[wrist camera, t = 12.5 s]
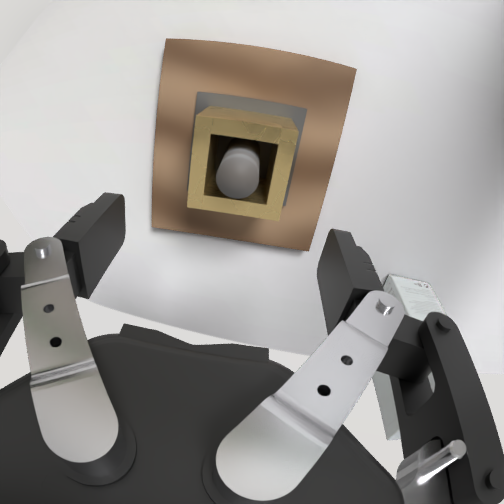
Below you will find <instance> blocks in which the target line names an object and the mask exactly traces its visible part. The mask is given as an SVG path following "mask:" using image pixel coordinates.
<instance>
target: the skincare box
mask: <svg viewBox="0 0 504 504" xmlns="http://www.w3.org/2000/svg"><path fill="white" fill-rule="evenodd" d="M383 289H384V291H385V292H387V293H389V294H391V295H393V296H394V297H396V298H397V299H398V300H399V301H400V302H401V304H402V305H403V307H404V310H405V315H408V316H410V317H413V318H416V319H418V320H421V321H424V319H425V318H426V316H427V315H428V313H430V312H440V313H442V314H445V315H446V313H445V311H444V309H443V307H442V305H441V304H440V302H439V300H438V298H437V296H436V294H435V293H434V291H433V289H432V287H431V286H430V284H429V283H426V282H422V281H417V280H413V279H409V278H405V277H401V276H397V275H393V274H390V275H389V276H388V278H387V280H386V283H385V285H384V286H383ZM446 316H447V315H446ZM428 378H429V382H430V385H431V389H432V392H434V389H435V382H434V378H433V375H432V372H431V373H430V374H429V376H428ZM372 379H373V382H374V386H375V390H376V395H377V398H378V402H379V406H380V411H381V415H382V419H383V424H384V429H385V433H386V439H387V440H398V439H401V436H400V430H399V424H398V418H397V412H396V407H395V402H394V397H393V391H392V387H391V382H390V377H389V375H387V374H384V373H381V372H378V371H376V372H375V373H374V375H373V377H372Z"/></svg>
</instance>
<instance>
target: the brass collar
mask: <svg viewBox="0 0 504 504" xmlns="http://www.w3.org/2000/svg"><path fill="white" fill-rule="evenodd" d="M298 133H299V131H298V129H297V127H296V126H295V124H294V122H293V120H292V119H291V118H286V117H281V116H275V115H270V114H264V113H258V112H252V111H245V110H239V109H231V108H224V107H216V106H208V107H207V108H206V109H204V110H203V111H202V112H200V113H199V114H197V115H196V120H195V128H194V137H193V146H192V156H191V166H190V177H189V188H188V200H187V207H189V208H196V209H203V210H209V211H216V212H223V213H229V214H236V215H242V216H249V217H255V218H261V219H267V220H273V221H279V219H280V214H281V210H282V206H283V201H284V197H285V192H286V188H287V183H288V179H289V174H290V170H291V165H292V161H293V156H294V152H295V147H296V143H297V138H298ZM219 135H224V136H231V137H238V138H244V139H251V140H257V141H263V142H269V143H273V144H272V149H271V154H270V159H269V165H268V170H267V175H266V178H261V177H259V183H258V186H257V188H256V190H255V191H254V192H253V193H252V194H251V195H249V196H248V197H245V198H240V199H236V198H231V197H228V196H226V195H225V194H223V193H222V192H221V191H220V189H219V188H218V186H217V182H216V174H217V171H215V162H216V154H217V147H218V139H219Z"/></svg>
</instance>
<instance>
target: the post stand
mask: <svg viewBox="0 0 504 504" xmlns="http://www.w3.org/2000/svg"><path fill="white" fill-rule="evenodd" d="M356 70H357V69H355V68H352V67H348V66H345V65H341V64H338V63H334V62H330V61H326V60H322V59H318V58H314V57H310V56H305V55H301V54H296V53H291V52H286V51H281V50H275V49H269V48H263V47H257V46H250V45H243V44H235V43H226V42H216V41H205V40H190V39H166V42H165V49H164V56H163V64H162V71H161V80H160V88H159V98H158V108H157V119H156V131H155V146H154V163H153V186H152V227H155V228H162V229H169V230H175V231H182V232H188V233H195V234H201V235H208V236H214V237H221V238H227V239H234V240H240V241H247V242H253V243H259V244H266V245H272V246H278V247H285V248H291V249H297V250H303V251H309V249H310V246H311V242H312V239H313V236H314V232H315V229H316V225H317V222H318V218H319V215H320V212H321V208H322V205H323V201H324V197H325V194H326V190H327V187H328V183H329V179H330V176H331V172H332V168H333V164H334V161H335V157H336V153H337V149H338V145H339V141H340V137H341V134H342V129H343V125H344V121H345V117H346V113H347V109H348V105H349V101H350V96H351V92H352V88H353V83H354V79H355V74H356ZM208 106H216V107H224V108H231V109H239V110H245V111H252V112H258V113H264V114H270V115H275V116H281V117H286V118H291V119H292V120H293V122H294V124H295V126H296V127H297V129H298V131H299V133H298V138H297V143H296V147H295V152H294V156H293V161H292V165H291V170H290V174H289V179H288V183H287V188H286V192H285V197H284V201H283V206H282V210H281V214H280V219H279V221H273V220H267V219H261V218H255V217H249V216H242V215H236V214H229V213H223V212H216V211H209V210H203V209H196V208H189V207H187V200H188V188H189V177H190V166H191V156H192V146H193V137H194V128H195V120H196V115H197V114H199V113H200V112H202V111H203V110H204V109H206V108H207V107H208ZM272 144H273V143H269V142H263V141H257V140H251V139H244V138H238V137H231V136H224V135H219V139H218V147H217V154H216V162H215V171H217V174H216V182H217V186H218V188H219V189H220V191H221V192H222V193H223V194H225V195H226V196H228V197H231V198H236V199H240V198H245V197H248V196H249V195H251V194H252V193H253V192H254V191H255V190H256V188H257V186H258V183H259V177H261V178H266V175H267V170H268V165H269V159H270V154H271V149H272Z"/></svg>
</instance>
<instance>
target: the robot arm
mask: <svg viewBox="0 0 504 504" xmlns="http://www.w3.org/2000/svg"><path fill="white" fill-rule="evenodd" d="M125 232H126V228H125V200H124V196H123V195H122V194H114V193H106V192H105V193H103V194H102V195H101V196H100V197H99V198H98V199H97V200H96V201H95V202H94V203H90V204H88V205H86V206H84V207H82V208H81V209H80V210H79V211H78V212H77V213H76V214H75V215H74V216H73V217H72V218H71V219H70V220H69V222H67V223H66V224H65V225H64V226H63V227H62V228H61V229H60V230H59V231H58V232H57V233H56V234H55V235H54V236H53V237H43V238H39V239H36V240H34V241H32V242H31V243H30V244H29V245H27V247H26V248H25V250H24V252H15V253H8V250H7V246H6V243H5V242H4V241H3V240H0V356H1V354H2V352H3V350H4V348H5V346H6V345H7V343H8V341H9V339H10V337H11V335H12V334H13V332H14V330H15V328H16V327H17V325H18V323H19V322H20V320H21V318H22V316H23V321H24V331H25V339H26V346H27V353H28V359H29V365H30V371H31V372H30V373H28V374H26V375H25V376H23V377H21V378H19V379H17V380H16V381H14V382H12V383H10V384H9V385H7V386H5V387H4V388H2V389H0V504H498V503H500V502H501V501H502V500H503V499H504V454H503V450H502V447H501V443H500V440H499V436H498V432H497V429H496V425H495V422H494V419H493V416H492V413H491V410H490V407H489V404H488V401H487V398H486V395H485V392H484V390H483V387H482V384H481V382H480V379H479V377H478V374H477V371H476V369H475V366H474V364H473V361H472V359H471V356H470V354H469V352H468V349H467V347H466V345H465V342H464V340H463V338H462V336H461V333H460V331H459V329H458V327H457V325H456V324H455V323H454V321H453V320H452V319H451V318H449V317H448V316H446V315H445V314H442V313H440V312H430V313H428V315H427V316H426V318H425V319H424V321H421V320H418V319H416V318H413V317H410V316H408V315H405V310H404V307H403V305H402V304H401V302H400V301H399V300H398V299H397V298H396V297H394V296H393V295H391V294H389V293H387V292H385V291H384V289H383V287H382V284H381V282H380V280H379V277H378V275H377V273H376V272H375V271H376V270H375V268H374V266H373V265H372V261H371V259H370V257H369V255H368V254H367V253H366V252H365V251H364V250H363V249H362V248H361V247H359V246H356V244H355V241H354V239H353V237H352V235H351V233H350V232H347V231H342V230H336V229H331V230H330V231H329V233H328V236H327V239H326V242H325V245H324V248H323V251H322V254H321V257H320V260H319V263H318V268H317V280H318V285H319V290H320V295H321V300H322V305H323V310H324V316H325V321H326V327H327V332H328V337H327V338H326V339H325V340H324V341H323V343H322V344H321V345H320V346H319V347H318V348H317V349H316V350H315V352H314V353H313V354H312V355H311V356H310V357H309V358H308V359H307V360H306V362H305V363H304V364H303V365H302V366H301V367H300V368H299V369H298V370H297V371H296V372H295V373H294V372H293V371H291V370H290V369H288V368H286V367H285V366H283V365H281V364H279V363H277V362H274V361H272V360H269V348H261V347H253V346H246V345H239V344H213V345H192V344H189V343H186V342H184V341H181V340H179V339H176V338H174V337H172V336H169V335H167V334H164V333H162V332H159V331H157V330H152V329H147V328H143V327H138V326H133V325H129V324H123V327H122V329H121V331H120V334H107V335H102V336H98V337H94V338H91V339H89V340H87V338H86V335H85V331H84V328H83V325H82V322H81V318H80V315H79V312H78V308H77V304H76V301H75V299H76V297H77V296H78V297H82V298H86V299H89V298H90V296H91V294H92V293H93V291H94V289H95V288H96V286H97V284H98V283H99V281H100V279H101V278H102V276H103V274H104V273H105V271H106V270H107V268H108V266H109V265H110V263H111V262H112V260H113V259H114V257H115V256H116V254H117V252H118V251H119V249H120V248H121V246H122V245H123V242H124V239H125ZM376 371H378V372H381V373H384V374H387V375H389V377H390V382H391V387H392V391H393V397H394V402H395V407H396V412H397V418H398V424H399V430H400V436H401V442H402V449H403V455H404V460H403V461H402V462H401V464H400V465H399V467H398V470H397V478H396V480H395V479H394V478H393V477H392V476H391V475H390V473H389V472H387V470H386V469H385V468H384V467H383V466H381V464H380V463H379V462H378V461H377V460H376V459H375V458H374V457H373V456H372V455H371V454H370V453H369V452H368V451H367V450H366V449H365V448H364V447H363V445H362V444H361V443H360V442H359V441H358V440H357V439H356V438H355V437H354V436H353V435H352V434H351V433H350V432H349V430H348V429H347V428H346V427H345V426H344V425H343V422H344V421H345V419H346V418H347V416H348V415H349V413H350V412H351V410H352V409H353V407H354V406H355V404H356V403H357V401H358V399H359V398H360V396H361V395H362V393H363V391H364V390H365V388H366V387H367V385H368V383H369V382H370V380H371V378H372V377H373V375H374V373H375V372H376ZM431 372H432V375H433V378H434V382H435V389H434V392H432V389H431V385H430V382H429V378H428V376H429V374H430V373H431Z"/></svg>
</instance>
